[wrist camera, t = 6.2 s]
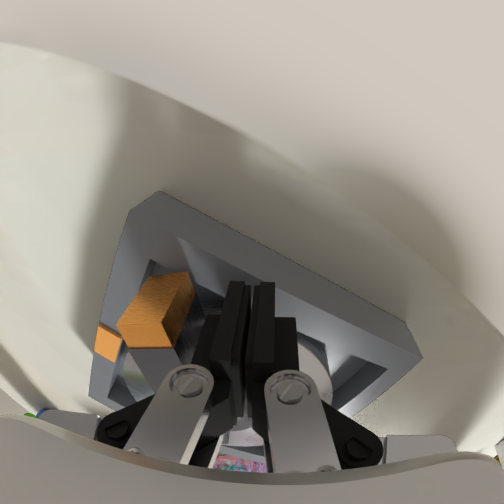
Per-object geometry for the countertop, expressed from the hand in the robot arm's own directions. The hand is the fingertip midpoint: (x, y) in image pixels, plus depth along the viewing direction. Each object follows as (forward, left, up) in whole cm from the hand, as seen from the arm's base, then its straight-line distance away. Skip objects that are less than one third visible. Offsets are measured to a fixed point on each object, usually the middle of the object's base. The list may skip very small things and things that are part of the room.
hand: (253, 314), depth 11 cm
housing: (-2, +7, -4) cm, 8 cm away
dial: (-1, +6, -2) cm, 7 cm away
